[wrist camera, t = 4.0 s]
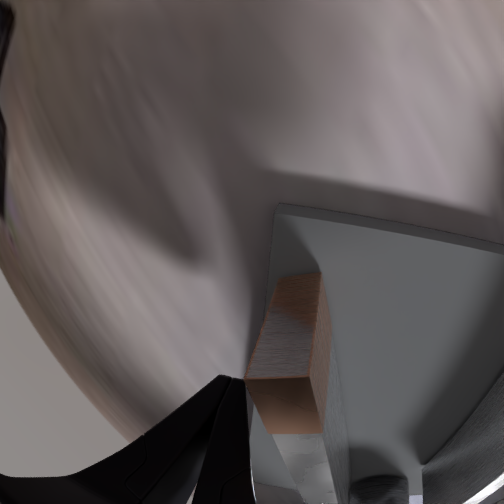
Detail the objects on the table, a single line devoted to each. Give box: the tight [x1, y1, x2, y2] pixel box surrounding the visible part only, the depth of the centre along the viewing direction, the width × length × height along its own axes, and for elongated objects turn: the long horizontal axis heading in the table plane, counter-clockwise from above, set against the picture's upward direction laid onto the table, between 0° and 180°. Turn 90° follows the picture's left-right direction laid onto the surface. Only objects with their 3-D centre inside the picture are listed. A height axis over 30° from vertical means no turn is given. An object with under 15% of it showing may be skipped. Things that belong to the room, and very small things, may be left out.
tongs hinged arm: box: [243, 272, 409, 504], centre depth 10 cm, size 18×5×4 cm, turn 16°
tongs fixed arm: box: [422, 371, 504, 504], centre depth 8 cm, size 13×1×4 cm, turn 177°
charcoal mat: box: [249, 203, 504, 495], centre depth 12 cm, size 18×17×1 cm
